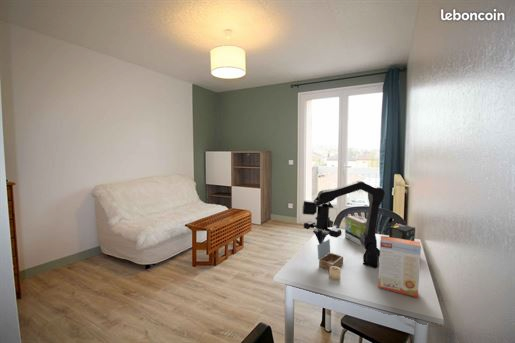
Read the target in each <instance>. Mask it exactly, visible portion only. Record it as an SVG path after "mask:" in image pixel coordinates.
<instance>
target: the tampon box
mask: <svg viewBox="0 0 515 343" xmlns="http://www.w3.org/2000/svg"><path fill="white" fill-rule="evenodd" d="M388 230H389V232H388V235H389V236H388V237H391V238H398V239H404V240H410V241H415V238H416V237H415V236H416V227H414V226H410V225H406V224H402V223H398V224H394V225H391V226H389V229H388Z"/></svg>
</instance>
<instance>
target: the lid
mask: <svg viewBox="0 0 515 343" xmlns="http://www.w3.org/2000/svg"><path fill="white" fill-rule="evenodd" d="M330 244H331V240H330V239H329V238H327V239H326V240H324V241H323V242H322V243H321V244H319V243H318V244H317V260H320V259H321V258H323V257H324V256H326V255H327V254H329V253H331V245H330Z"/></svg>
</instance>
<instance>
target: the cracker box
mask: <svg viewBox="0 0 515 343" xmlns="http://www.w3.org/2000/svg"><path fill="white" fill-rule="evenodd" d="M379 247H380V248H379V250H380V256H379V266H378V288H379V289H382V290H387V291H391V292H396V293H399V294H403V295H407V296H410V297H415V298H418V297H419V283H420V271H421V270H420V267H421V266H420V265H421V251H422V250H421V249H422V246H421V242H420V241H416V240H414V241H410V240H404V239H398V238H391V237H389V236H384V235H382V236H380V246H379Z"/></svg>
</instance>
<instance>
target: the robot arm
mask: <svg viewBox="0 0 515 343" xmlns="http://www.w3.org/2000/svg"><path fill="white" fill-rule="evenodd" d="M361 190H362V191H363V192H365V193H367V200H368V210H367V218H366V219H367V223H366V230H365V232H364V233H361V234H360V235H361V237H360V239H359V240H360V241H361V244H362V245H361V246H362V247H363V248H364V250H365V251H364V253H363V255H362V256H363V257H362V259H363V260H362V262H363V263H362V265H364V266H368V267H371V268H374V269H377V268H379V261H380V248H378V242H377V240H378V239H377V235H376V231H377V226H378V225H377V224H378V216H379V212H380V211H379V210H380V206H381V204H382V203H383V202H384V200H385V195H386V192H385V190H384V189H383V188H382V187H379V186H376V185H370V184H368V183H365V182H364V181H361V180H356V181H355V182H352V183H349V184H346V185H343V186H340V187H337V188H331V189H322V190H320V191H318V193H317V196H316V198H314V200H312V201H308V200H304V201H303V202H302V203H303V204H302V215H309V216H314V215H316V216H315V220H316V222H314V221H310V220H309V221H306V222H304V223H303V229H306V230H309V229H310V228H312V229H313V231H312V233H313V234H314V235H315V237H316V239H317V241H318V245H319V244H321V243H322V242H324V241H325V238H326V237H327V236H330V237H332V238H339V237H341V236H342V230H341V229H340V228H336V227H333V225H334V221H333V220H330V216H329V215H330V209H333V208H334V206H333V205H332V203H331V202H332V201H334V200H335V199H337V198H339V197H341V196H345V195H348V194H351V193H354V192H358V191H361Z"/></svg>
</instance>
